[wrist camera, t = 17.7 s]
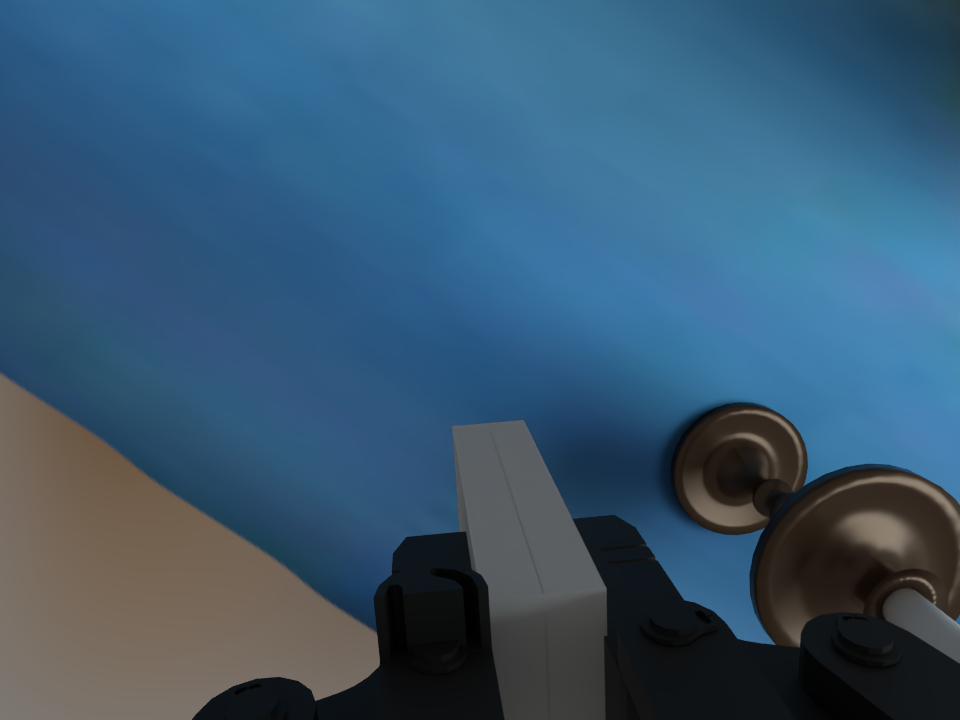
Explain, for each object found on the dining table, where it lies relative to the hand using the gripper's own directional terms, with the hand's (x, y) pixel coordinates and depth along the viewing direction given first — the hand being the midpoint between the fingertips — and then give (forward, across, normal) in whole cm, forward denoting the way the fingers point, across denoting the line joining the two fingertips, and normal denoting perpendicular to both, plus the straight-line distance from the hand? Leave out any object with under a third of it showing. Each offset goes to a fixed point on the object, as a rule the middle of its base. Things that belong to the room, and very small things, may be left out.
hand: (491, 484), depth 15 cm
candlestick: (+30, +19, -13) cm, 38 cm away
